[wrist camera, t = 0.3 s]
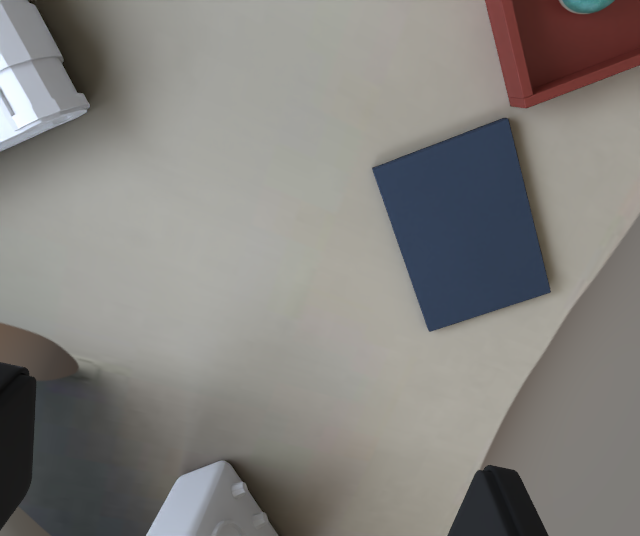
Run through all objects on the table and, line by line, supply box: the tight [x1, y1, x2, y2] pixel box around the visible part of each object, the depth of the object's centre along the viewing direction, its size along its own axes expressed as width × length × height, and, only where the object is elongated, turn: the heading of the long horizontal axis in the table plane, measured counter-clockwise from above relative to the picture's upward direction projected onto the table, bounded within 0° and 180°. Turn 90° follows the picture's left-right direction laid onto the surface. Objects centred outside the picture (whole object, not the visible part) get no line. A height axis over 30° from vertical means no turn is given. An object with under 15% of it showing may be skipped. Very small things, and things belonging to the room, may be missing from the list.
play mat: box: [372, 118, 551, 332], centre depth 46 cm, size 17×12×1 cm
